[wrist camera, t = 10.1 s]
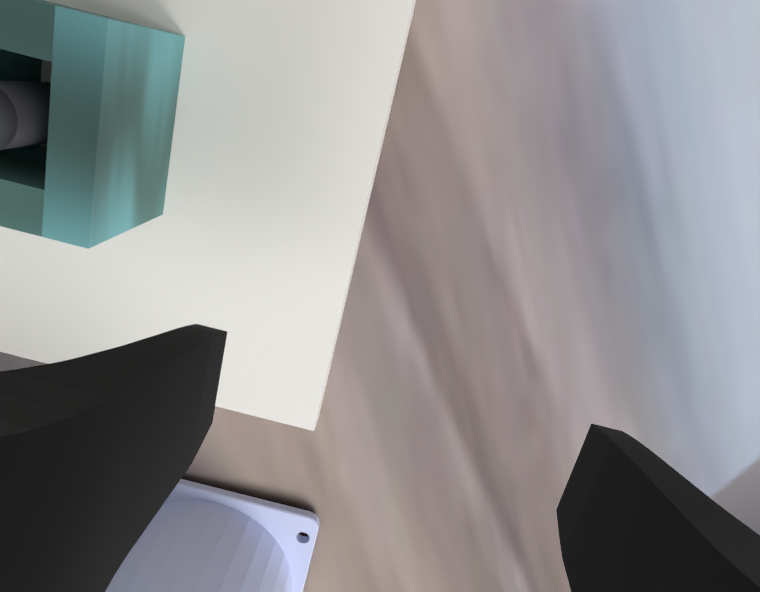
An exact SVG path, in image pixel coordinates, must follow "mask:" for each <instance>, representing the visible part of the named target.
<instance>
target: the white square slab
mask: <svg viewBox="0 0 760 592" xmlns="http://www.w3.org/2000/svg"><path fill="white" fill-rule="evenodd" d="M46 1H50V2H54V3H58V4H62V5H66V6H69V7H73V8H77V9H81V10H85V11H89V12H93V13H97V14H100V15H104V16H108V17H112V18H116V19H120V20H124V21H128V22H131V23H135V24H139V25H143V26H147V27H151V28H155V29H159V30H163V31H166V32H170V33H174V34H178V35H182V36H185V42H184V50H183V58H182V66H181V74H180V82H179V90H178V98H177V106H176V114H175V122H174V130H173V138H172V146H171V154H170V162H169V170H168V178H167V186H166V194H165V202H164V210H163V215H161V216H158V217H156V218H154V219H152V220H150V221H148V222H145V223H143V224H141V225H139V226H137V227H135V228H132V229H130V230H128V231H126V232H124V233H122V234H119V235H117V236H115V237H113V238H111V239H109V240H106V241H104V242H102V243H100V244H98V245H96V246H93V247H91V248H89V249H87V248H83V247H80V246H76V245H72V244H68V243H64V242H60V241H56V240H52V239H48V238H44V237H41V236H37V235H33V234H29V233H25V232H21V231H17V230H13V229H9V228H6V227H2V226H0V352H3V353H7V354H11V355H15V356H19V357H23V358H27V359H31V360H35V361H39V362H43V363H47V364H51V363H56V362H61V361H65V360H70V359H74V358H78V357H82V356H85V355H89V354H93V353H97V352H101V351H104V350H108V349H112V348H116V347H119V346H123V345H126V344H129V343H132V342H136V341H139V340H142V339H145V338H148V337H151V336H155V335H158V334H161V333H164V332H167V331H170V330H174V329H177V328H180V327H184V326H188V325H193V324H199V325H203V326H207V327H211V328H215V329H219V330H223V331H227V337H226V343H225V349H224V355H223V361H222V367H221V373H220V379H219V385H218V391H217V397H216V403H215V406H217V407H221V408H225V409H229V410H233V411H237V412H241V413H245V414H249V415H253V416H257V417H260V418H264V419H268V420H272V421H276V422H280V423H284V424H288V425H292V426H296V427H300V428H304V429H308V430H312V431H314V429H315V426H316V423H317V421H318V418H319V414H320V409H321V405H322V401H323V397H324V392H325V388H326V384H327V380H328V375H329V371H330V367H331V362H332V358H333V354H334V350H335V345H336V341H337V337H338V333H339V328H340V324H341V320H342V316H343V311H344V307H345V303H346V298H347V294H348V290H349V286H350V281H351V277H352V273H353V269H354V264H355V260H356V256H357V251H358V247H359V243H360V239H361V234H362V230H363V226H364V222H365V217H366V213H367V209H368V204H369V200H370V196H371V192H372V187H373V183H374V179H375V175H376V170H377V166H378V162H379V158H380V153H381V149H382V145H383V140H384V136H385V132H386V128H387V123H388V119H389V115H390V111H391V106H392V102H393V98H394V93H395V89H396V85H397V81H398V76H399V72H400V68H401V64H402V59H403V55H404V51H405V46H406V42H407V38H408V34H409V29H410V25H411V21H412V17H413V12H414V8H415V4H416V0H46ZM51 72H52V62H50V61H46V60H42V70H41V82H35V81H0V150H3V149H10V148H17V147H25V146H32V145H42V146H46V147H47V140H48V123H49V106H50V89H51Z"/></svg>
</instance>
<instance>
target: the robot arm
mask: <svg viewBox="0 0 760 592" xmlns="http://www.w3.org/2000/svg"><path fill="white" fill-rule="evenodd" d="M226 337H227V331H223V330H219V329H215V328H211V327H207V326H203V325H199V324H193V325H188V326H184V327H180V328H177V329H174V330H170V331H167V332H164V333H161V334H158V335H155V336H151V337H148V338H145V339H142V340H139V341H136V342H132V343H129V344H126V345H123V346H119V347H116V348H112V349H108V350H104V351H101V352H97V353H93V354H89V355H85V356H82V357H78V358H74V359H70V360H65V361H61V362H56V363H51V364H46V365H40V366H34V367H28V368H22V369H17V370H10V371H2V372H0V592H303V588H304V584H305V580H306V576H307V572H308V568H309V565H310V561H311V557H312V553H313V549H314V545H315V541H316V537H317V533H318V529H319V525H320V520H319V518H318V516H317V515H316V514H314V513H313V512H310V511H307V510H303V509H299V508H295V507H291V506H287V505H283V504H279V503H275V502H271V501H267V500H263V499H259V498H255V497H251V496H247V495H243V494H239V493H235V492H231V491H227V490H224V489H220V488H216V487H212V486H208V485H204V484H200V483H196V482H192V481H188V480H184V479H181V478H182V477H183V475H184V474H185V472H186V471H187V469H188V468H189V466H190V465H191V463H192V461H193V460H194V458H195V456H196V454H197V452H198V450H199V448H200V446H201V444H202V442H203V440H204V438H205V436H206V434H207V432H208V430H209V428H210V426H211V424H212V421H213V415H214V409H215V403H216V397H217V391H218V385H219V379H220V373H221V367H222V361H223V355H224V349H225V343H226ZM557 519H558V528H559V537H560V544H561V551H562V558H563V562H564V566H565V570H566V573H567V577H568V581H569V584H570V588H571V592H760V535H758V534H757V533H756V532H754V531H753V530H751V529H750V528H749V527H747V526H746V525H745V524H743V523H742V522H741V521H739V520H738V519H736V518H735V517H734V516H733V515H731V514H730V513H728V512H727V511H726V510H724V509H723V508H722V507H721V506H719V505H718V504H717V503H716V502H714V501H713V500H712V499H710V498H709V497H708V496H707V495H705V494H704V493H703V492H702V491H700V490H699V489H698V488H697V487H695V486H694V485H693V484H692V483H690V482H689V481H688V480H687V479H685V478H684V477H683V476H682V475H680V474H679V473H678V472H677V471H676V470H674V469H673V468H672V467H671V466H669V465H668V464H667V463H666V462H664V461H663V460H662V459H661V458H659V457H658V456H657V455H656V454H654V453H653V452H652V451H650V450H649V449H648V448H647V447H645V446H644V445H643V444H641V443H640V442H638V441H637V440H636V439H634V438H633V437H631V436H629V435H628V434H626V433H624V432H623V431H619V430H615V429H611V428H607V427H603V426H599V425H595V424H591V426H590V429H589V431H588V434H587V436H586V439H585V441H584V444H583V446H582V448H581V451H580V453H579V456H578V458H577V461H576V463H575V466H574V468H573V471H572V473H571V475H570V478H569V480H568V483H567V485H566V488H565V490H564V493H563V495H562V498H561V500H560V502H559V505H558V507H557ZM300 532H305V533H307V534H308V535H309V536H302V535H300Z"/></svg>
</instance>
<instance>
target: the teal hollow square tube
mask: <svg viewBox="0 0 760 592" xmlns="http://www.w3.org/2000/svg"><path fill="white" fill-rule="evenodd" d="M184 42H185V36H182V35H178V34H174V33H170V32H166V31H163V30H159V29H155V28H151V27H147V26H143V25H139V24H135V23H131V22H128V21H124V20H120V19H116V18H112V17H108V16H104V15H100V14H97V13H93V12H89V11H85V10H81V9H77V8H73V7H69V6H66V5H62V4H58V3H54V2H50V1H46V0H0V81H35V82H41V70H42V60H46V61H50V62H52V72H51V89H50V106H49V123H48V140H47V147H46V146H42V145H32V146H25V147H17V148H10V149H3V150H0V226H2V227H6V228H9V229H13V230H17V231H21V232H25V233H29V234H33V235H37V236H41V237H44V238H48V239H52V240H56V241H60V242H64V243H68V244H72V245H76V246H80V247H83V248H87V249H89V248H91V247H93V246H96V245H98V244H100V243H102V242H104V241H106V240H109V239H111V238H113V237H115V236H117V235H119V234H122V233H124V232H126V231H128V230H130V229H132V228H135V227H137V226H139V225H141V224H143V223H145V222H148V221H150V220H152V219H154V218H156V217H158V216H161V215H163V210H164V202H165V194H166V186H167V178H168V170H169V162H170V154H171V146H172V138H173V130H174V122H175V114H176V106H177V98H178V90H179V82H180V74H181V66H182V58H183V50H184Z"/></svg>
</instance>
